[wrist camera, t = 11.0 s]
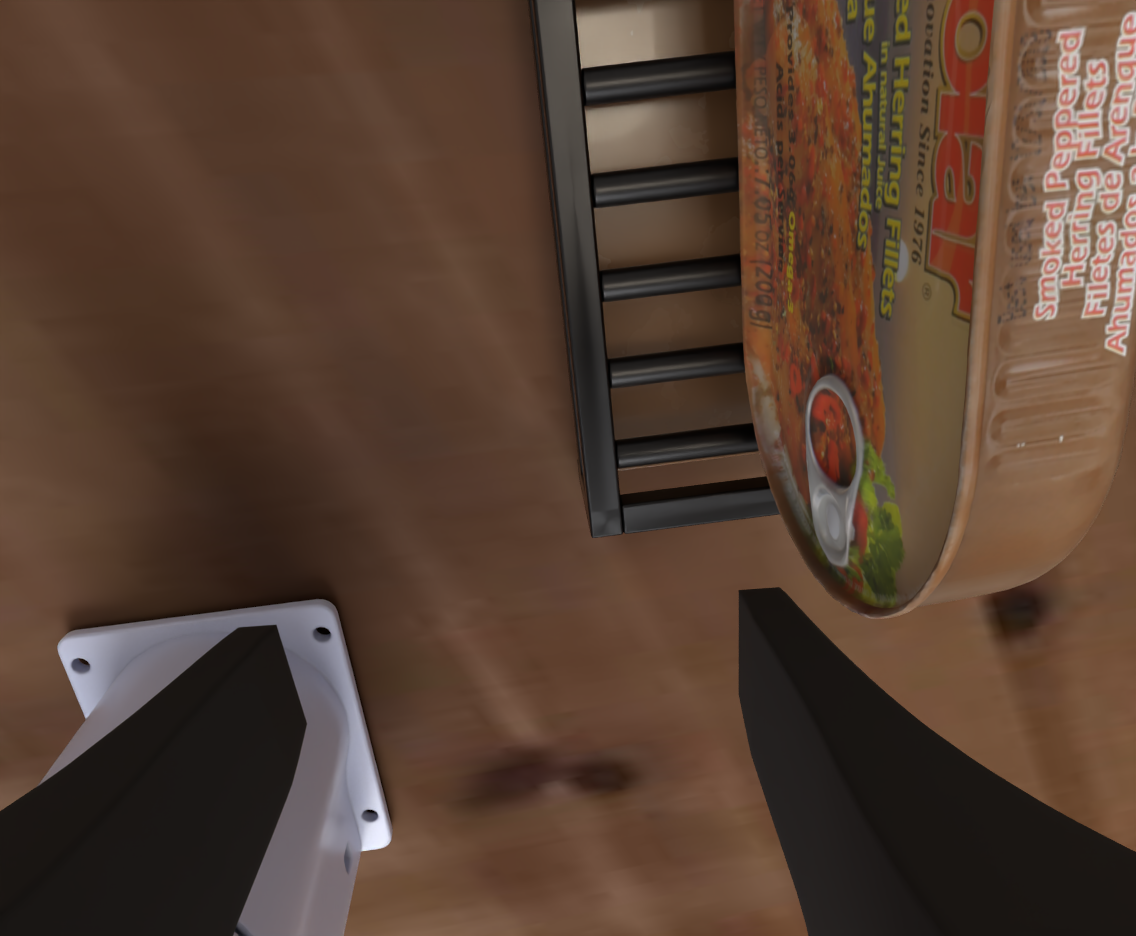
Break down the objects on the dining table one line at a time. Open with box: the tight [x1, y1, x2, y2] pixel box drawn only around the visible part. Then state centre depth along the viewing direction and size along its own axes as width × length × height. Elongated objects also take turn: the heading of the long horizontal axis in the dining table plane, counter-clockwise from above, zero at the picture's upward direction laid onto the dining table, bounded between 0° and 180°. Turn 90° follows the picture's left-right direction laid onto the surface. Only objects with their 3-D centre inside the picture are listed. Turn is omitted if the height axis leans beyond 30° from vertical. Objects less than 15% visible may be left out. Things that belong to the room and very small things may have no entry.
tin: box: [734, 0, 1136, 619], centre depth 13 cm, size 15×3×8 cm, turn 7°
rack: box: [528, 0, 780, 538], centre depth 18 cm, size 16×10×4 cm, turn 7°
